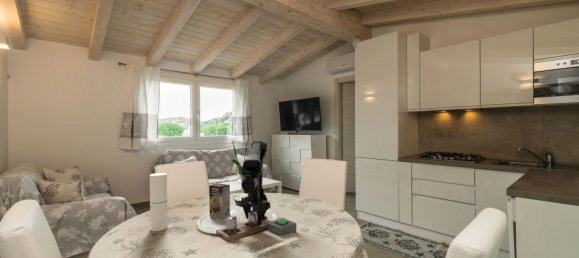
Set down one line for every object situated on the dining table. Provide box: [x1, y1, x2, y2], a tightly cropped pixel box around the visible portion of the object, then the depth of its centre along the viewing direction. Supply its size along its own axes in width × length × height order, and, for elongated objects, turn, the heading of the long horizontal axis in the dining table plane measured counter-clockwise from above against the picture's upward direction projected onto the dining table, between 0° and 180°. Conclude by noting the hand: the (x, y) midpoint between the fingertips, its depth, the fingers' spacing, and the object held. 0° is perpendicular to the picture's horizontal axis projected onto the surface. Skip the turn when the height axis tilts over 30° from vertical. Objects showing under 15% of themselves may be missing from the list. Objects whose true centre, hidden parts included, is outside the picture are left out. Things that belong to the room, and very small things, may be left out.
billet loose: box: [247, 210, 258, 228], centre depth 120 cm, size 4×4×7 cm
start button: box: [276, 217, 287, 226], centre depth 117 cm, size 4×4×2 cm
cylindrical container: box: [149, 172, 169, 232], centre depth 123 cm, size 7×7×25 cm
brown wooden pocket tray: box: [215, 220, 267, 242], centre depth 116 cm, size 10×20×2 cm, turn 132°
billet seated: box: [225, 215, 238, 235], centre depth 113 cm, size 4×4×7 cm
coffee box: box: [208, 182, 231, 219], centre depth 141 cm, size 9×6×16 cm
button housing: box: [266, 218, 297, 237], centre depth 117 cm, size 9×9×4 cm
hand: (253, 221), depth 120 cm, fingers open, 9 cm apart
